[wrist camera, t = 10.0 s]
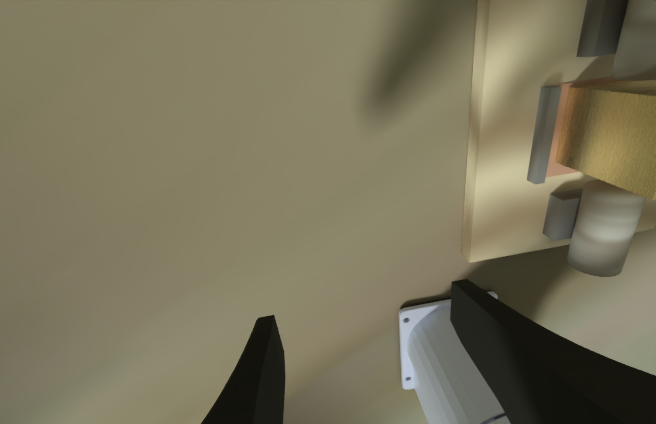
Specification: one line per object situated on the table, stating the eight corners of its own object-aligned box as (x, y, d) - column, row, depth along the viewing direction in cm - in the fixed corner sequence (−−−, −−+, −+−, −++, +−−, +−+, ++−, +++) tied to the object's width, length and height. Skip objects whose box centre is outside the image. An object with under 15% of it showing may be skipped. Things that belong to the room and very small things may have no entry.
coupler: (614, 152, 20) (732, 186, 15) (554, 161, 20) (652, 200, 15) (635, 77, 18) (779, 85, 13) (569, 87, 18) (688, 99, 13)
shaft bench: (637, 221, 25) (717, 258, 20) (461, 253, 24) (502, 299, 19) (731, -58, 17) (893, -100, 13) (479, -24, 16) (553, -55, 12)
